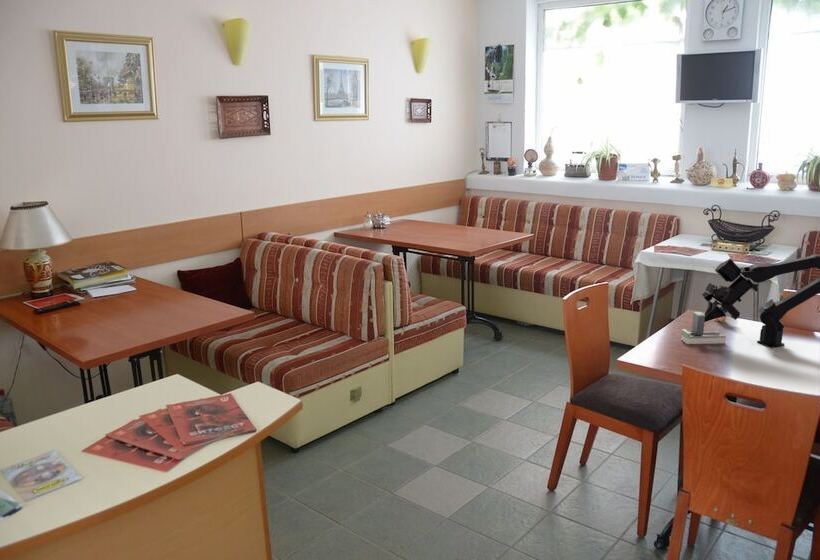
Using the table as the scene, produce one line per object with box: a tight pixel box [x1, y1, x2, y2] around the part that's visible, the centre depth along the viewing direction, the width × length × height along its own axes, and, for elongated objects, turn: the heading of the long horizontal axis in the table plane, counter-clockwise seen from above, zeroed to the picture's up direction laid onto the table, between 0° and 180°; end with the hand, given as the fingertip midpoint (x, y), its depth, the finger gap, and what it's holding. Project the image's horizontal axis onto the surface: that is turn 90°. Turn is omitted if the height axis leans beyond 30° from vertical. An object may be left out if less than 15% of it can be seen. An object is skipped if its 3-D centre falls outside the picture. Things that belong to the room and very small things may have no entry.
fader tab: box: [691, 311, 705, 336], centre depth 251 cm, size 3×4×8 cm
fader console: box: [680, 328, 726, 345], centre depth 252 cm, size 14×5×4 cm, turn 93°
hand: (702, 321), depth 251 cm, fingers closed, pressing on fader tab
